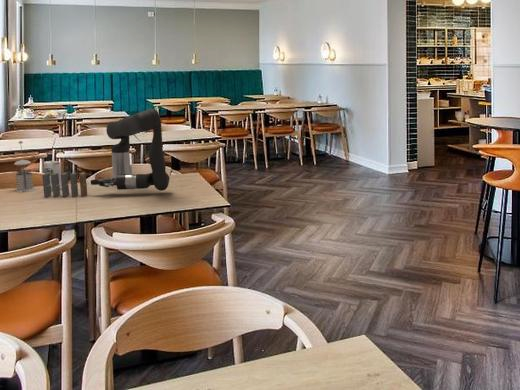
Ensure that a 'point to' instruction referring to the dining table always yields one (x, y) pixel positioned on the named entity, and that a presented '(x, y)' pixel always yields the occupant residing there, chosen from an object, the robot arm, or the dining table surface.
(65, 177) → the charcoal tile
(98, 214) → the dining table surface
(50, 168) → the syrup box
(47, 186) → the charcoal tile
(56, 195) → the charcoal tile
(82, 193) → the walnut tile
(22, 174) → the french press
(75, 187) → the charcoal tile
